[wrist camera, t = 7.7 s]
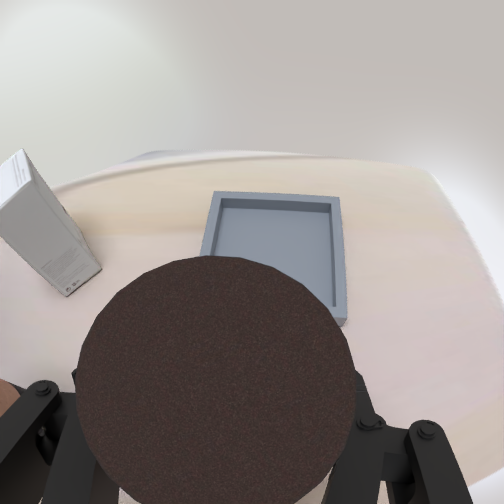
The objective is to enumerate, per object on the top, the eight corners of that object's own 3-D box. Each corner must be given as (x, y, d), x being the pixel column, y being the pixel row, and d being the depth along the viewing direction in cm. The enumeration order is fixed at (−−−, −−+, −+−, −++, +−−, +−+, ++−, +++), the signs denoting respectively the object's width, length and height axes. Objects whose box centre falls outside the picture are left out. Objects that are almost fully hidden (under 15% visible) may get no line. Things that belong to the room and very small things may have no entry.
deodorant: (266, 473, 16) (271, 567, 4) (184, 432, 18) (36, 416, 5) (307, 396, 19) (395, 318, 6) (227, 358, 21) (166, 221, 8)
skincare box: (103, 270, 33) (35, 179, 21) (64, 300, 31) (-16, 222, 19) (79, 228, 37) (24, 142, 24) (45, 254, 35) (-19, 177, 22)
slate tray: (195, 317, 30) (189, 307, 28) (216, 205, 37) (213, 191, 35) (341, 327, 29) (347, 317, 27) (335, 211, 36) (339, 197, 34)
